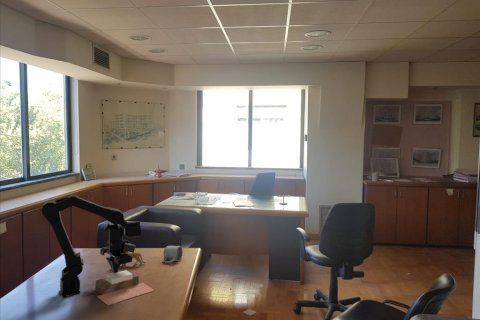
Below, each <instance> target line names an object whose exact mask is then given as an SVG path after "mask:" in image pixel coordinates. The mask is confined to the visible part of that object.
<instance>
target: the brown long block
mask: <svg viewBox="0 0 480 320" xmlns="http://www.w3.org/2000/svg"><path fill="white" fill-rule="evenodd" d="M129 272H130V273H132V274H133V279H130V280H126V281H122V282H119V283H115V284H111V283H110V282H108V281H107V280H106V277H103V278H99V279H96V280H95V282H94V283H95V292H98V293H99V294H100V295H103V294H106V293H110V292H113V291H116V290H120V289H123V288H127V287H130V286H133V285H137V284H140V283H139V281H140V280H139V279H140V278H139V277H140V276H139V275H138V274H137V273H135V272H134V271H132V270H130V271H129Z"/></svg>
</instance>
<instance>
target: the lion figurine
mask: <svg viewBox="0 0 480 320" xmlns="http://www.w3.org/2000/svg"><path fill="white" fill-rule="evenodd" d="M126 253H127V254H129V255H131V256H132V260H133V259H134V260H136V262H134V265H137V264H139V265H138V266H140V267H142V265H143V264H146V262H145V261H143V257H142V254H141V252H138V251H134V253H131V252H127V251H126ZM126 253H122V254H126ZM121 266H122V267H124V268H125V267H126V266H127V263H125V264H121Z"/></svg>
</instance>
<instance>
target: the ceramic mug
mask: <svg viewBox="0 0 480 320" xmlns="http://www.w3.org/2000/svg"><path fill="white" fill-rule="evenodd" d="M183 253H184V252H183V247H182V246H181V245H167V246H166V247H164V250H163V259H162V260H163V263H165V264H167V265H169V264H172V263H174V262H180V261H181V260H182V257H183V255H184V254H183ZM166 260H167V261H166Z"/></svg>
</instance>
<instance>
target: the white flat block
mask: <svg viewBox="0 0 480 320" xmlns="http://www.w3.org/2000/svg"><path fill="white" fill-rule="evenodd" d="M105 278H106V280H107V281H108V282H110V283H111V284H115V283H119V282H122V281H126V280H130V279H133V274H132V273H130V271H128V270H127V269H125V270H122V271H118V272H117V273H113V272H112V273H110V274H107V275H105Z"/></svg>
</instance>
